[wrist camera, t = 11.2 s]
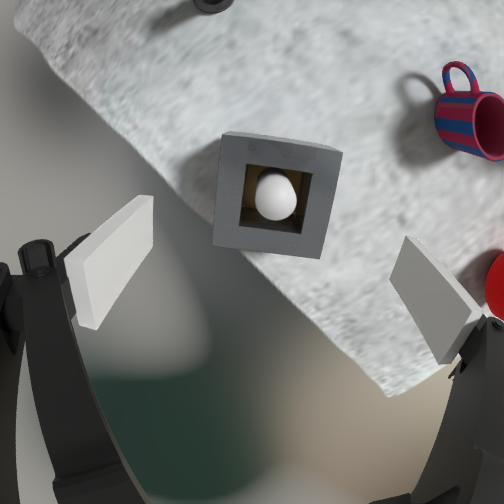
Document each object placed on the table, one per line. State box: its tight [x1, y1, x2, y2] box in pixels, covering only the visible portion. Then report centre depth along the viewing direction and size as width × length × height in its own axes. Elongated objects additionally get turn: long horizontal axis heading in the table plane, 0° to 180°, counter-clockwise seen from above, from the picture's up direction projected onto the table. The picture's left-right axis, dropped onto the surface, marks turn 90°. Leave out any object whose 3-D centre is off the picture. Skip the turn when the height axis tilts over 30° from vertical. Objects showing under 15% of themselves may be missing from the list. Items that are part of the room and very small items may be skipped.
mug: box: [435, 61, 504, 161], centre depth 20 cm, size 7×10×7 cm
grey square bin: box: [212, 131, 343, 259], centre depth 24 cm, size 9×9×5 cm
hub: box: [243, 164, 302, 220], centre depth 24 cm, size 7×7×8 cm
